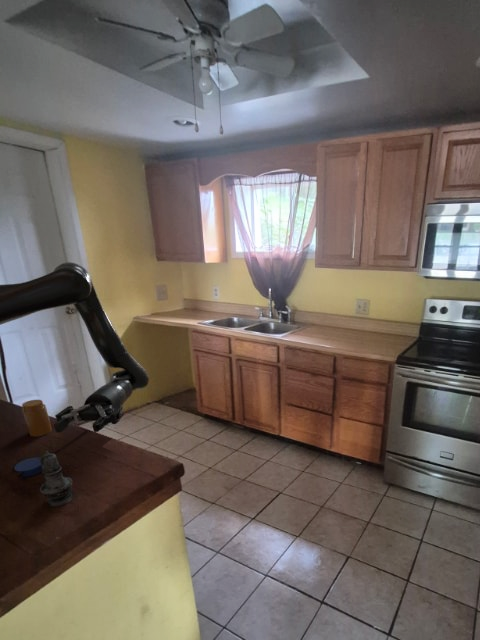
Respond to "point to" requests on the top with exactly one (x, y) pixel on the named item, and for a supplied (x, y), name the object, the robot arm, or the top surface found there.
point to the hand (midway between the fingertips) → (75, 428)
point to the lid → (29, 467)
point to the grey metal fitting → (55, 482)
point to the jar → (36, 418)
